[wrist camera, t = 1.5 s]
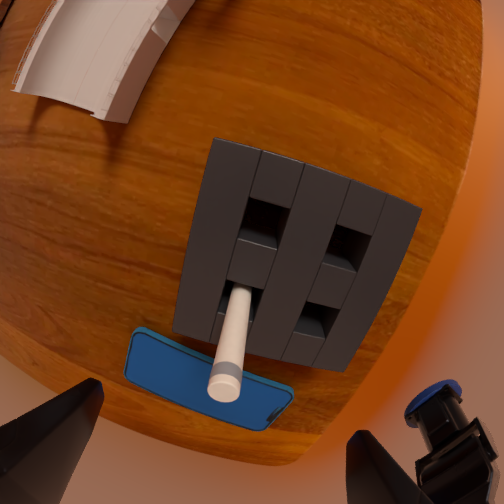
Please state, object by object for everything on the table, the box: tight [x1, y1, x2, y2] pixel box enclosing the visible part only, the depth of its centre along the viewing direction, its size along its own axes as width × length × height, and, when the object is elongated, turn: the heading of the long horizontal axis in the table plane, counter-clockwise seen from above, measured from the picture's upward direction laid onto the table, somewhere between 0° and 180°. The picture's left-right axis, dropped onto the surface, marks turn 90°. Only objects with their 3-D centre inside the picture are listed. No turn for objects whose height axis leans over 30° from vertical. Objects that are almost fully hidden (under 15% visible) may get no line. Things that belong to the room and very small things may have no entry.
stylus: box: [207, 282, 252, 402], centre depth 15 cm, size 1×1×11 cm
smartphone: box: [123, 327, 294, 431], centre depth 23 cm, size 7×1×15 cm
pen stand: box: [172, 137, 422, 372], centre depth 17 cm, size 12×12×4 cm
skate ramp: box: [12, 0, 195, 124], centre depth 11 cm, size 15×13×5 cm
